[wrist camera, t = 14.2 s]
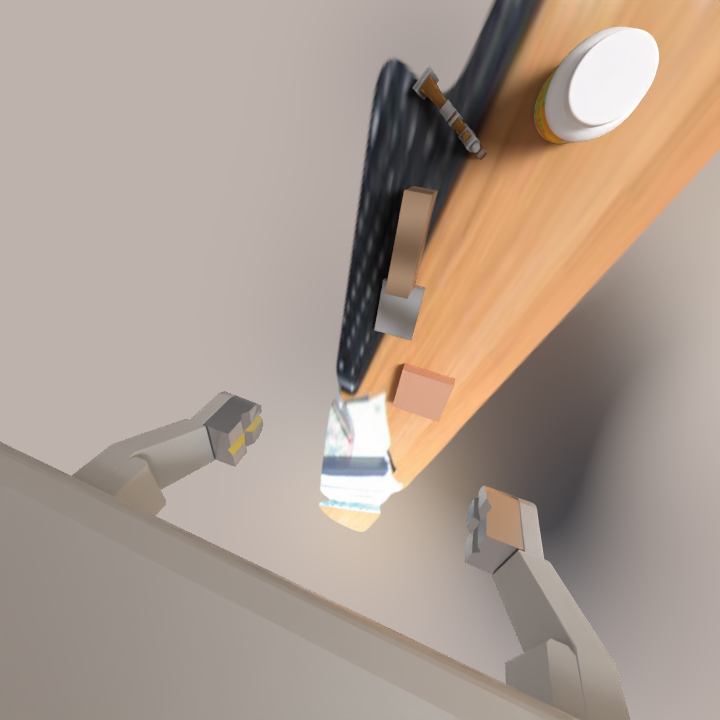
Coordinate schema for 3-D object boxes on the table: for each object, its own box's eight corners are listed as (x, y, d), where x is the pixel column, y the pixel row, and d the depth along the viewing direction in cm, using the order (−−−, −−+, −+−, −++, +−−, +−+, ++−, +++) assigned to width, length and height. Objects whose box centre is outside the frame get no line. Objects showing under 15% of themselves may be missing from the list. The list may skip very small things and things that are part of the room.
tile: (402, 369, 41) (392, 406, 46) (453, 386, 40) (438, 421, 44) (405, 361, 43) (395, 397, 47) (455, 377, 42) (440, 412, 46)
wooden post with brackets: (480, 172, 28) (465, 157, 24) (432, 110, 29) (411, 86, 26) (498, 155, 27) (485, 136, 23) (447, 90, 28) (427, 63, 25)
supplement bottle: (536, 70, 24) (559, 31, 16) (621, 43, 22) (694, -15, 14) (530, 151, 27) (548, 150, 19) (606, 134, 25) (661, 126, 17)
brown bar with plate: (401, 183, 31) (390, 187, 28) (450, 192, 30) (445, 197, 27) (376, 327, 41) (365, 343, 38) (412, 337, 40) (404, 355, 37)
